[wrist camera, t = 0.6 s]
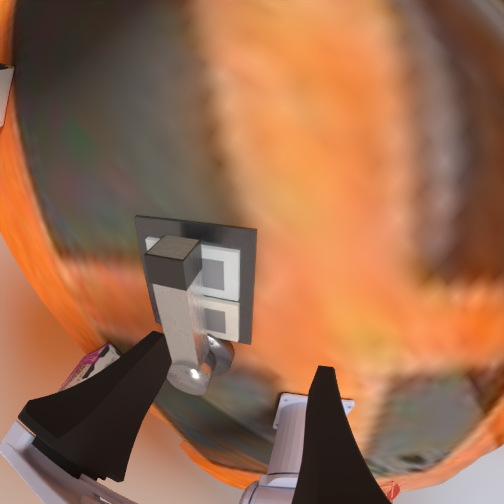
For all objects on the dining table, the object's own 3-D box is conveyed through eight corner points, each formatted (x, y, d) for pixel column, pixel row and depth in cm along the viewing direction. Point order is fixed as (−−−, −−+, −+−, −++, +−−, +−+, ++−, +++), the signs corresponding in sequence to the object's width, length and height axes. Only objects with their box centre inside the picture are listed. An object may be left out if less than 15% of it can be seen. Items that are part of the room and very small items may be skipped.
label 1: (239, 297, 20) (237, 301, 19) (155, 281, 21) (153, 284, 21) (240, 249, 18) (238, 253, 17) (148, 236, 19) (144, 239, 19)
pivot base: (234, 371, 25) (231, 380, 24) (179, 357, 26) (174, 365, 25) (234, 330, 22) (230, 341, 21) (169, 316, 23) (164, 325, 22)
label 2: (239, 338, 22) (237, 342, 22) (164, 321, 23) (162, 324, 23) (239, 302, 20) (237, 307, 20) (156, 286, 21) (154, 289, 21)
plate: (251, 342, 22) (250, 344, 22) (157, 320, 24) (156, 322, 24) (257, 229, 17) (256, 231, 17) (136, 215, 19) (134, 217, 18)
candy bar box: (108, 339, 29) (38, 439, 15) (136, 366, 30) (76, 467, 16) (83, 354, 34) (29, 429, 20) (106, 375, 35) (57, 451, 21)
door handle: (218, 373, 23) (208, 398, 21) (182, 364, 24) (170, 387, 21) (208, 241, 17) (188, 267, 14) (157, 234, 17) (133, 256, 15)
